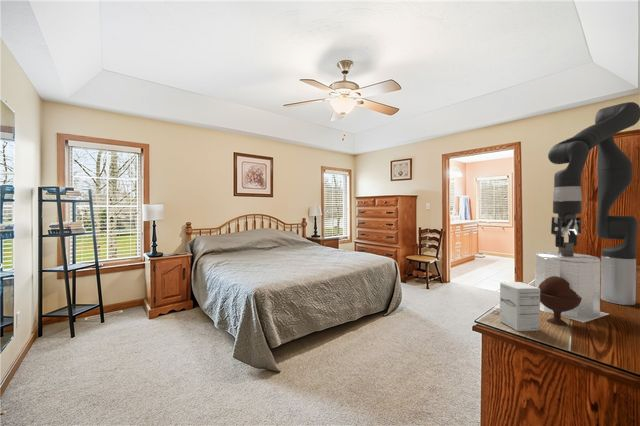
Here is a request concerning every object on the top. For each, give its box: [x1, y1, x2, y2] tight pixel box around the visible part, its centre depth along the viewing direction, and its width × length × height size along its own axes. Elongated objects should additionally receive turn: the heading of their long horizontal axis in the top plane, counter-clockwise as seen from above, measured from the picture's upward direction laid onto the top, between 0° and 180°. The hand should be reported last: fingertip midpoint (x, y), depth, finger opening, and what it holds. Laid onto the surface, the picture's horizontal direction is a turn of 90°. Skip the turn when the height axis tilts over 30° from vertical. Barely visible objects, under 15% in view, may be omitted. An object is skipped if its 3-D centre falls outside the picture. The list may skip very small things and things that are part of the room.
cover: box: [534, 241, 601, 320], centre depth 98 cm, size 17×17×24 cm
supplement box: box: [499, 281, 541, 332], centre depth 85 cm, size 7×7×13 cm
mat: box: [540, 309, 610, 324], centre depth 98 cm, size 17×17×1 cm
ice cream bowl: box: [538, 276, 582, 327], centre depth 87 cm, size 11×11×15 cm
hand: (566, 246), depth 98 cm, fingers open, 8 cm apart
